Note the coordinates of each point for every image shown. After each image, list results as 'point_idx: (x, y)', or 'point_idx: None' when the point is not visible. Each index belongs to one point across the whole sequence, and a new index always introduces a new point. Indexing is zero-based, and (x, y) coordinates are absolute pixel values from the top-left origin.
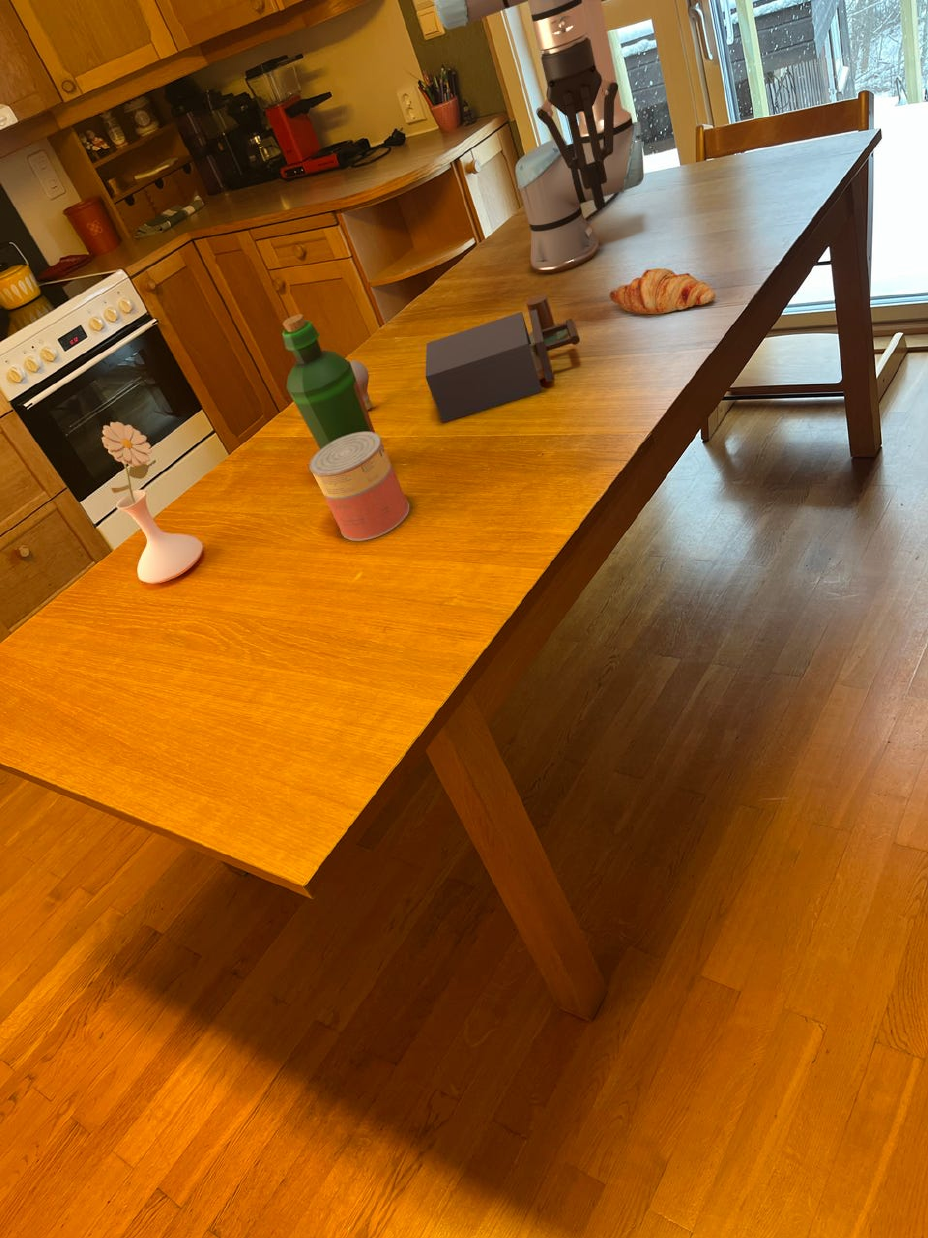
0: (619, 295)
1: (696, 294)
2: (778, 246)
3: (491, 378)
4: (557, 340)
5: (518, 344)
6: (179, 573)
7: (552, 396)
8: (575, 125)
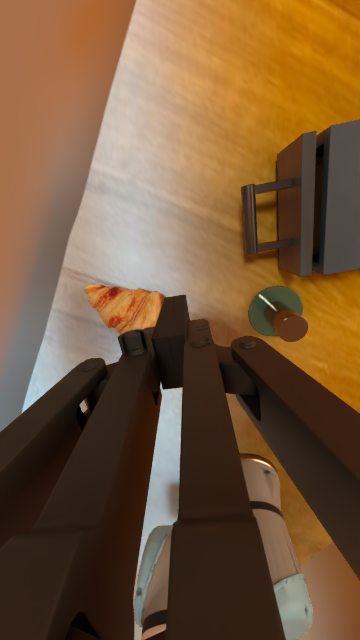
0: None
1: (102, 288)
2: (40, 380)
3: None
4: (263, 290)
5: (346, 131)
6: None
7: (280, 130)
8: (203, 492)
